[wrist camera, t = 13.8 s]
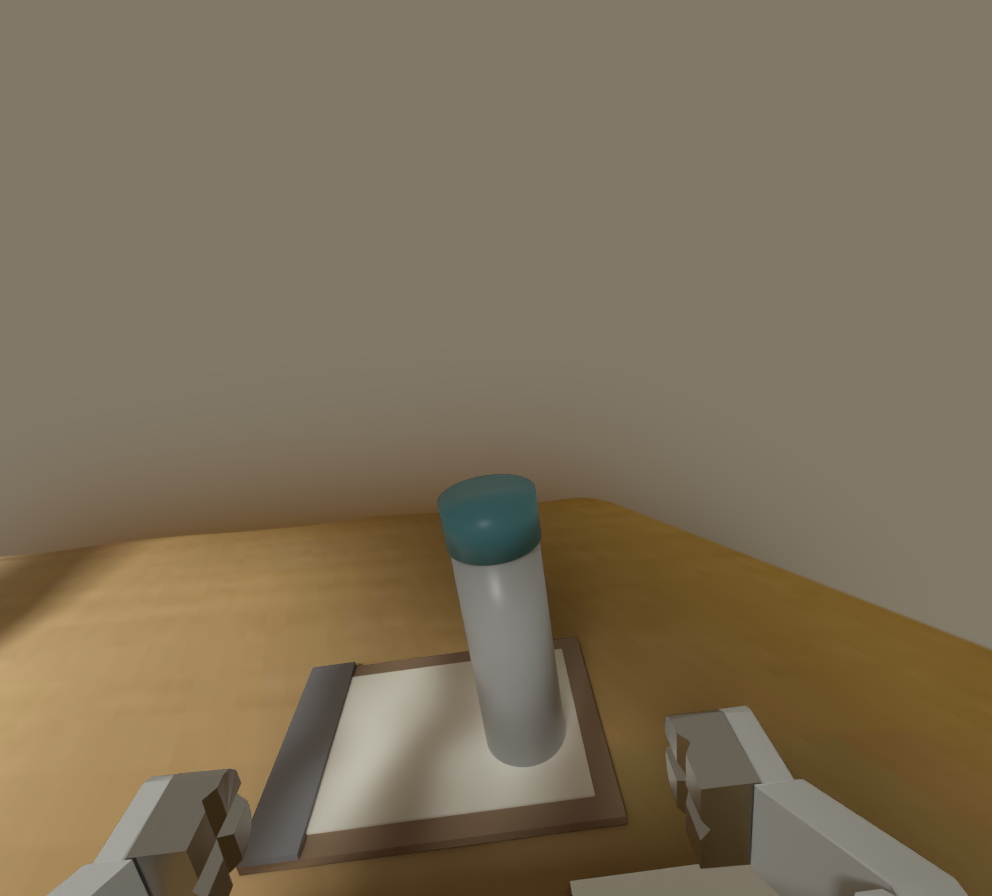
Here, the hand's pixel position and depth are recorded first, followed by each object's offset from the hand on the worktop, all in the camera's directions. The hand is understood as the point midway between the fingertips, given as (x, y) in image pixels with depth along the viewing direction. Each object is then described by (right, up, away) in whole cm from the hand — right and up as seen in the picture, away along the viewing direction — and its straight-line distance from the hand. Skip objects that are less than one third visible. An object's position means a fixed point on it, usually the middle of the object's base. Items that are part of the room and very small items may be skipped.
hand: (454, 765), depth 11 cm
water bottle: (+2, -7, +15) cm, 17 cm away
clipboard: (-2, -8, +16) cm, 18 cm away
